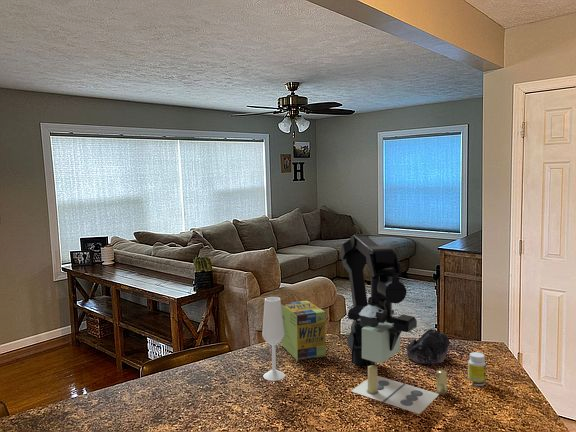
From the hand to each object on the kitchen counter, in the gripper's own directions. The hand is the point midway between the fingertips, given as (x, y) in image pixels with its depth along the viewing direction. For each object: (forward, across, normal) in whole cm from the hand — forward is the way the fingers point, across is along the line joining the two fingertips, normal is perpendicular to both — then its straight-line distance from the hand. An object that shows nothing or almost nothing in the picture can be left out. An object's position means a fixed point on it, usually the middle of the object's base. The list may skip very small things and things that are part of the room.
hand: (381, 347), depth 130 cm
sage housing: (+2, 0, 0) cm, 2 cm away
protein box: (+13, -35, +9) cm, 39 cm away
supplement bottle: (+13, +20, +21) cm, 31 cm away
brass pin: (+12, +15, +7) cm, 20 cm away
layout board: (+12, +5, -1) cm, 13 cm away
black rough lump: (+13, +1, +30) cm, 32 cm away
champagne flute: (+13, -30, -12) cm, 35 cm away
